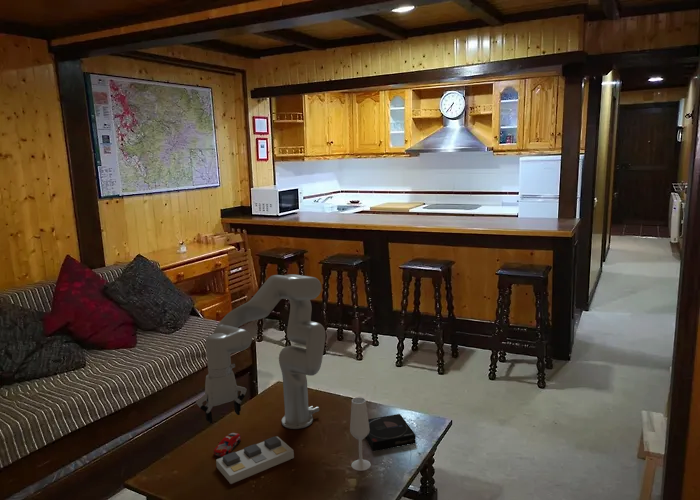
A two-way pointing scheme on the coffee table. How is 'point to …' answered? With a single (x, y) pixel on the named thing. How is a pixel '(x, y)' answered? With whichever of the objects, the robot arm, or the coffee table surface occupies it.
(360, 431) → the champagne flute
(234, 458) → the button
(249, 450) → the button mid
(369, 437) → the portable cd player
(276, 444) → the button
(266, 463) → the button board
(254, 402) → the coffee table surface
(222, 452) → the race car
